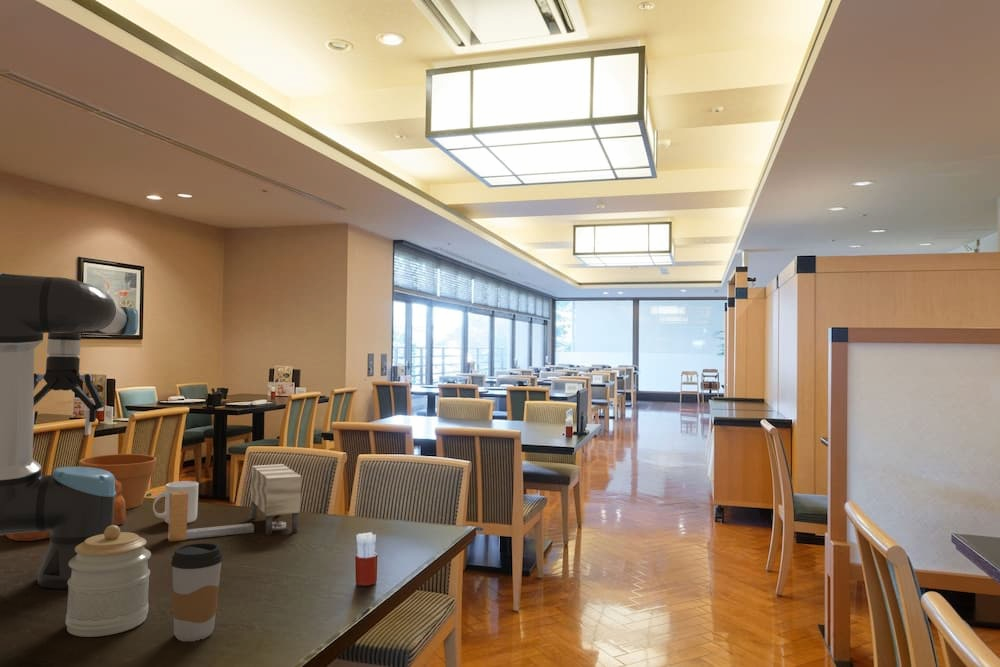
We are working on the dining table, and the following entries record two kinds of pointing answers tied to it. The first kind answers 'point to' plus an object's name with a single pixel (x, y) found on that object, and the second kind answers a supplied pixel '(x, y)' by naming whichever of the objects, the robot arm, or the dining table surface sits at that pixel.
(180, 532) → the grey l-shaped rod
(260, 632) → the dining table surface
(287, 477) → the cabinet
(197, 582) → the coffee cup
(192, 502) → the mug
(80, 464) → the flower pot
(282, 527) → the token
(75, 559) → the jar
